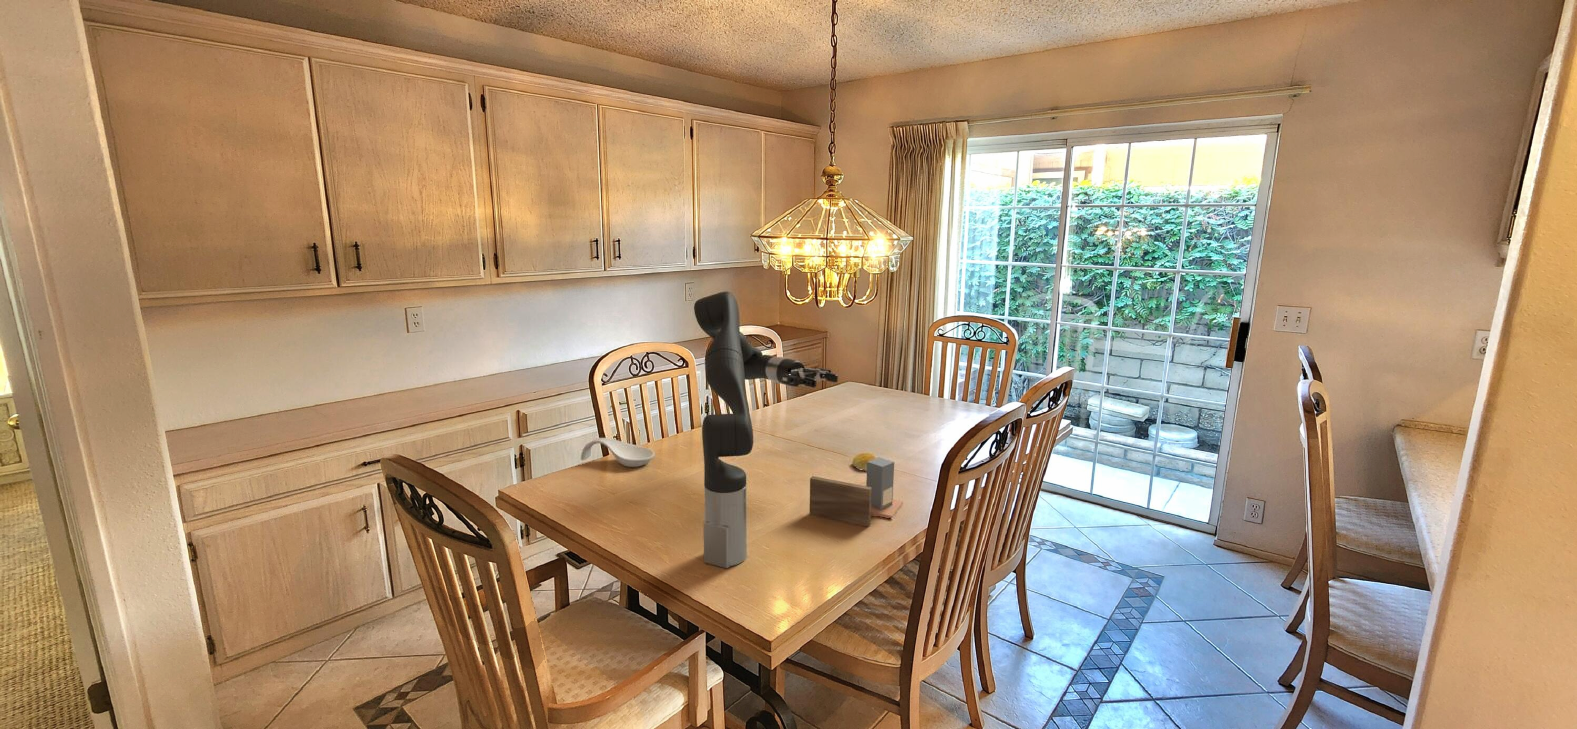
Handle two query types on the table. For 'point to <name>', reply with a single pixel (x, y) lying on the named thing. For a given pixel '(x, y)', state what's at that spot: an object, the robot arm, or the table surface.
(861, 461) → the bread roll
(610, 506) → the table surface
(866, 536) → the table surface
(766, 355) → the robot arm
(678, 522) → the table surface
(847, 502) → the walnut screen
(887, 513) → the terracotta tile
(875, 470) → the slate block
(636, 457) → the spoon rest
